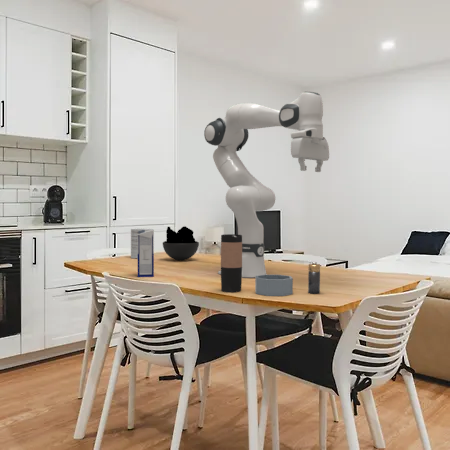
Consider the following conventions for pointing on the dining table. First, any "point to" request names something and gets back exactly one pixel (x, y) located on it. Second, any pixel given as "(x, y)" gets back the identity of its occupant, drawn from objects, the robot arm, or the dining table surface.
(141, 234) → the milk carton
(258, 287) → the cup
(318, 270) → the battery cell
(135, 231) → the supplement box
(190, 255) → the coal bowl
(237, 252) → the travel mug
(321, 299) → the dining table surface
